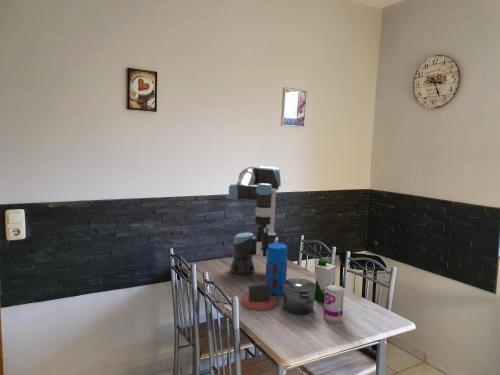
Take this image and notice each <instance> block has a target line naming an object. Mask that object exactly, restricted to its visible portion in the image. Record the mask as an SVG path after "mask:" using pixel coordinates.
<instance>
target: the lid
mask: <svg viewBox="0 0 500 375" xmlns="http://www.w3.org/2000/svg"><path fill="white" fill-rule="evenodd" d="M241 304H242V306H243V307H245V308H246V309H248V310H253V311H268V310H272V309H274V308H275V307H276V305H277V300H276V298H275V297H274V296H273V295H270V284H269V283H266V282H265V283H249V284H248V294H245V295H244V296H242V298H241Z"/></svg>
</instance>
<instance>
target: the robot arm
mask: <svg viewBox="0 0 500 375" xmlns="http://www.w3.org/2000/svg"><path fill="white" fill-rule="evenodd" d="M281 186H282V184H281V170H280V168H279V167H276V166H256V165H255V166H250V167H247V168H244V169H243V170H242V171H241V172H240V173H239V175H238V180H237V182H236V183H235V184H230V185H229V186H228V198H229V199H231V200H241V201H244V200H245V201H255V208H254V209H253V210H254V211H255V216H254V223H255V224H256V225H257V229H256V235H254V233H253V232H242V233H241V232H240V233H238V234H236V235H235V236H234V239H233V258H232V261H231V264H230V268H229V271H230V273H232V274H233V275H237V276H250V275H252V274H254V273H255V272H256V271H255V270H256V267H255V264H254V260H253V259H254V258H253V256H257V257H260V263H261V264H266V263H267V249H269V248H268V244H272V243H279V237H277V233H276V232H275V219H276V218H275V215H276V214H275V212H276V196H277V195H276V194H277V192H278V190H279V188H280V187H281Z"/></svg>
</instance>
